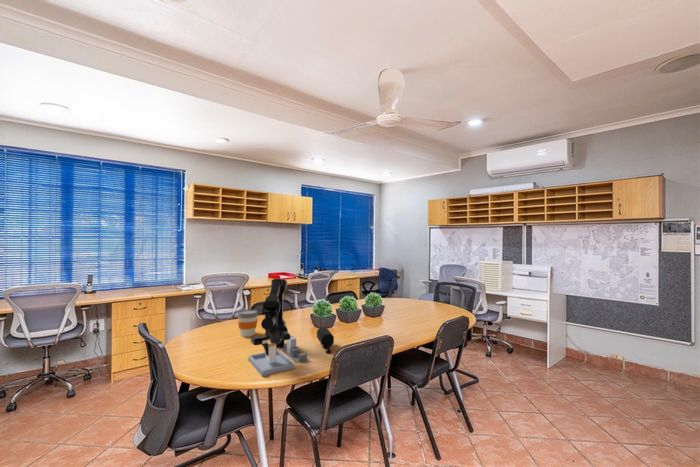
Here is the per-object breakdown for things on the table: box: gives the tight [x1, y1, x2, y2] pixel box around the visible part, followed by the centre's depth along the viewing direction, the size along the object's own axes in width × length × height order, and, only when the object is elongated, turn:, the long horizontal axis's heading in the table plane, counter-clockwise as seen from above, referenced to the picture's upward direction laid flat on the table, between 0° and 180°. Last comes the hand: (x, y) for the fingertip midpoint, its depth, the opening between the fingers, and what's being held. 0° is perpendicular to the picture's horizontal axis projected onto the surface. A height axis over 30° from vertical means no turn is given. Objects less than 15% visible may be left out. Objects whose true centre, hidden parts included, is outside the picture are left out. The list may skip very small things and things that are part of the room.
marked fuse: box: [266, 341, 276, 362], centre depth 163 cm, size 6×3×8 cm, turn 32°
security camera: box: [316, 326, 335, 354], centre depth 187 cm, size 7×18×10 cm, turn 16°
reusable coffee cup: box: [237, 309, 259, 338], centre depth 211 cm, size 13×13×15 cm
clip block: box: [280, 342, 310, 364], centre depth 175 cm, size 21×8×4 cm, turn 32°
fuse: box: [285, 335, 297, 353], centre depth 180 cm, size 6×3×8 cm, turn 32°
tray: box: [248, 349, 296, 377], centre depth 163 cm, size 23×16×2 cm
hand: (270, 355), depth 163 cm, fingers closed on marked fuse, 3 cm apart
